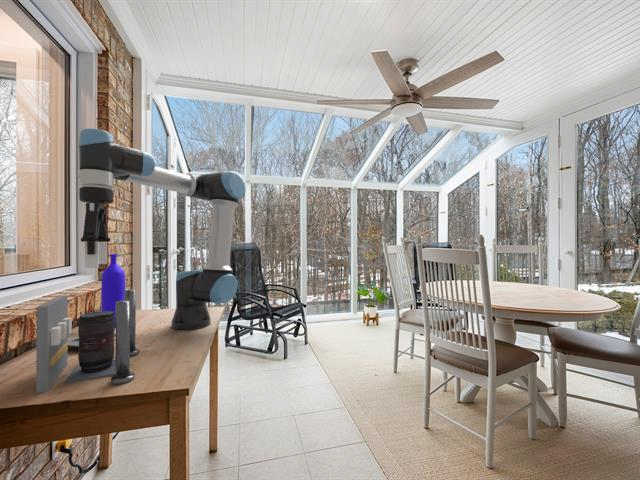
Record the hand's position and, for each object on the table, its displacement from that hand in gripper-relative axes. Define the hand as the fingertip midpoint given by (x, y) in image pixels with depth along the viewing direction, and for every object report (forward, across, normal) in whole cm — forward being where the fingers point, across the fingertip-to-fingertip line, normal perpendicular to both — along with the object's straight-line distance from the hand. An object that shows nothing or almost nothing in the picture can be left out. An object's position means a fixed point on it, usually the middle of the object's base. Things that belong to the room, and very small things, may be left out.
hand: (96, 265), depth 83 cm
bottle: (+29, -51, -2) cm, 59 cm away
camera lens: (+28, 0, 0) cm, 28 cm away
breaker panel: (+29, 0, -9) cm, 30 cm away
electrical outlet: (+29, -24, -3) cm, 37 cm away
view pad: (+29, 0, 0) cm, 29 cm away
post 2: (+29, -10, +7) cm, 31 cm away
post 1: (+29, +10, +7) cm, 31 cm away
